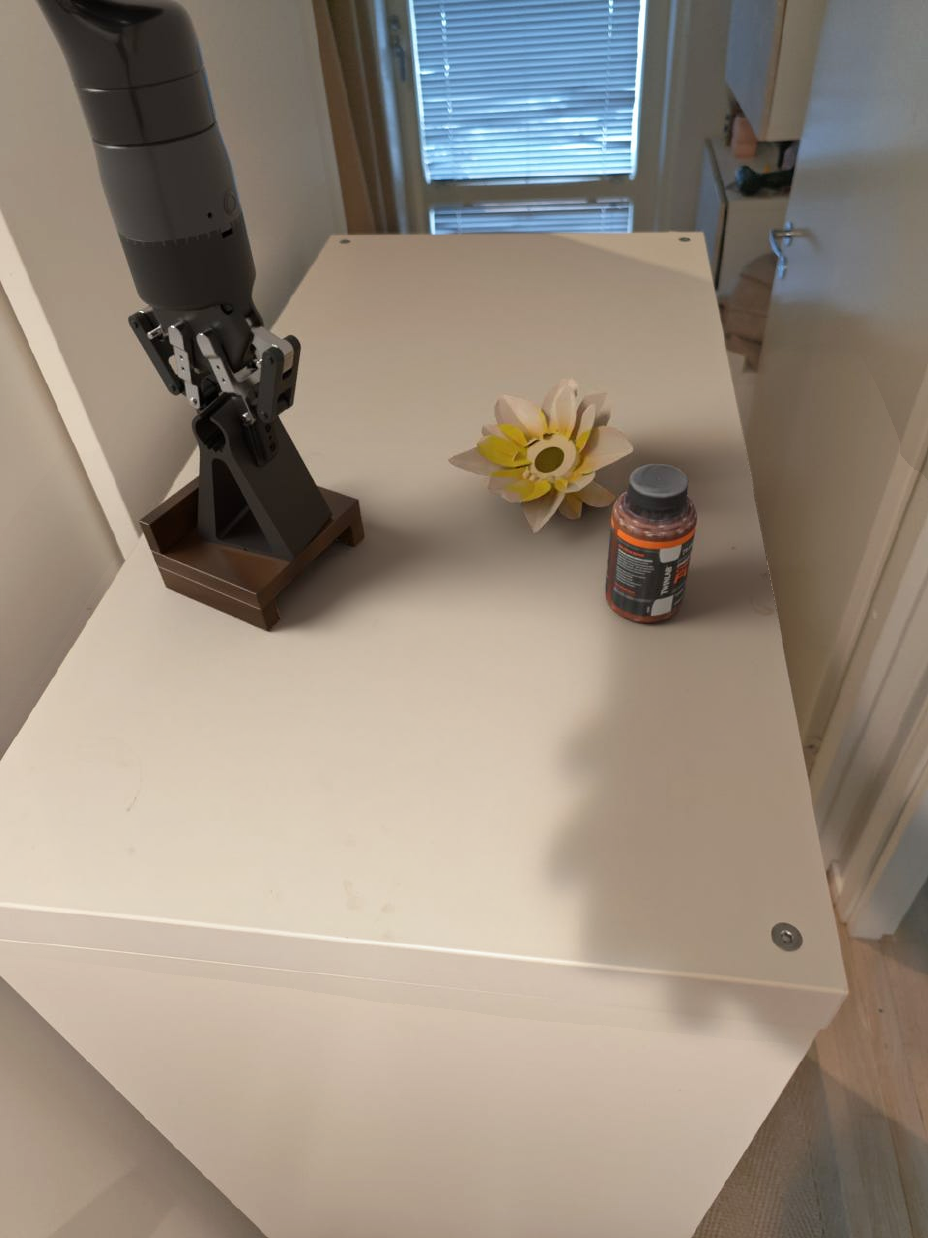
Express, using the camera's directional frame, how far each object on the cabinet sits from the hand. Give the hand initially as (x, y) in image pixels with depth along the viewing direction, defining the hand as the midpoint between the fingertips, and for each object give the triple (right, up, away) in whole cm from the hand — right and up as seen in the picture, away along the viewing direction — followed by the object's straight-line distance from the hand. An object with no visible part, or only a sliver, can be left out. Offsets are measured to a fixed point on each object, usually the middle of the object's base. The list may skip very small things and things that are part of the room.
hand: (245, 452), depth 63 cm
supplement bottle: (+30, -11, +3) cm, 32 cm away
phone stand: (0, -5, +5) cm, 7 cm away
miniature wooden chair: (0, -7, +8) cm, 11 cm away
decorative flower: (+23, -1, +14) cm, 27 cm away
